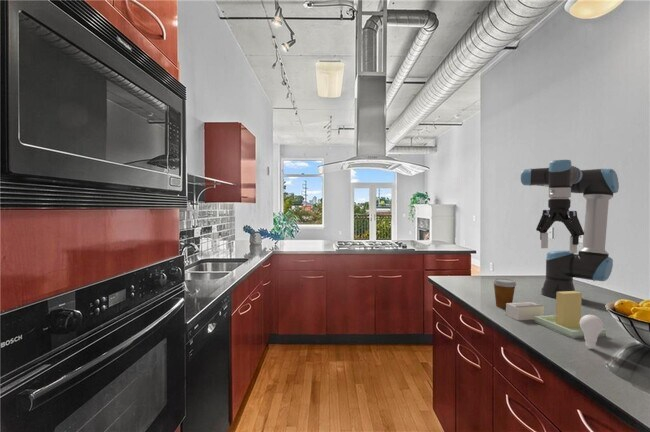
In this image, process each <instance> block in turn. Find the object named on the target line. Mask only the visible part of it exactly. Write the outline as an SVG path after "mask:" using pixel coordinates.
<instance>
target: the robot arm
mask: <svg viewBox="0 0 650 432" xmlns="http://www.w3.org/2000/svg"><path fill="white" fill-rule="evenodd" d="M548 164H549V165H548V167H540V168H528V169H527V168H526V169H523V170H522V171H521V173H520V183H521V184H522V185H523V186H529V187H531V186H539V187H545V188H546V187H547V188H548V200H547V203H548V204H547V207H548V208H549V209H543V210H542V215H541V216H540V219H539V221H538V224H537V226H536V231H537V232H539V233H540V234H539V236H540V237H539V240H540V249H548V248H549V232H548V230H550V228H551V227H552V225H553V224H554V223H555V222H561V223H562V224H563V225H564V226H565V228H566V229H567V231H569V233H570V236H569V250H551V251H549V252H547V253H546V259H545V280H544V282H543V286H542V287H541V288H540V289H541V292H540V294H541V295H543V296H545V297H550V298H554V299H556V293H557V292H562V291H576V290H575V285H574V281H573V280H574V279H575V278H576V279H583V280H587V281H593V282H596V281H597V282H598V281H599V282H605V281H607V280H608V279H609V278H610V277H611V274H612V272H613V271H612V270H613V267H614V266H613V265H614V260H613V258H612V257H610V256H609V252H608V251H606V239H607V237H606V236H607V227H608V213H609V203H610V202H609V201H610V200H611V199H612V198H614V194H616V193H618V192H619V187H620V186H619V185H620V184H619V177H618V174H617V172H616V171H615V169H612V168H595V169H583V170H581V169H580V168H579V167H577V166H575V165H572V161H571V159H555V160H551V161H550V162H549V163H548ZM572 194H582V196H583V198H584V199H585V200H586V202H585V204H586V205H585V215H584V227H583V228H582V224H581V222H580V220H579V217H578V211H577V210H570V208H571V202H572V200H571V199H570V198H571V197H572ZM580 236H583V240H582V248H580V249H579V250H578V245H579V242H580V239H579V238H580Z"/></svg>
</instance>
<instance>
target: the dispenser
mask: <svg viewBox="0 0 650 432" xmlns="http://www.w3.org/2000/svg"><path fill="white" fill-rule="evenodd" d="M505 316H507V317H510V318H512V319H514V320H516V321H532V320H534V321H535V316H545V306H544V305H543V304H538V303H535V302H532V301H526V302H525V301H524V302H512V303H506V308H505Z"/></svg>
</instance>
